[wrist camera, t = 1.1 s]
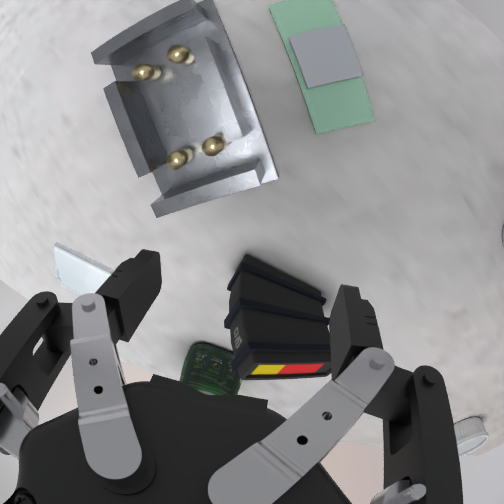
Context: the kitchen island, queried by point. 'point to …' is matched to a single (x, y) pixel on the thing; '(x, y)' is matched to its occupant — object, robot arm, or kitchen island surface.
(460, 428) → the ramekin
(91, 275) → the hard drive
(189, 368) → the coffee jar
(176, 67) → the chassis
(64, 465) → the robot arm
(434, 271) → the kitchen island surface
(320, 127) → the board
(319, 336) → the magazine
